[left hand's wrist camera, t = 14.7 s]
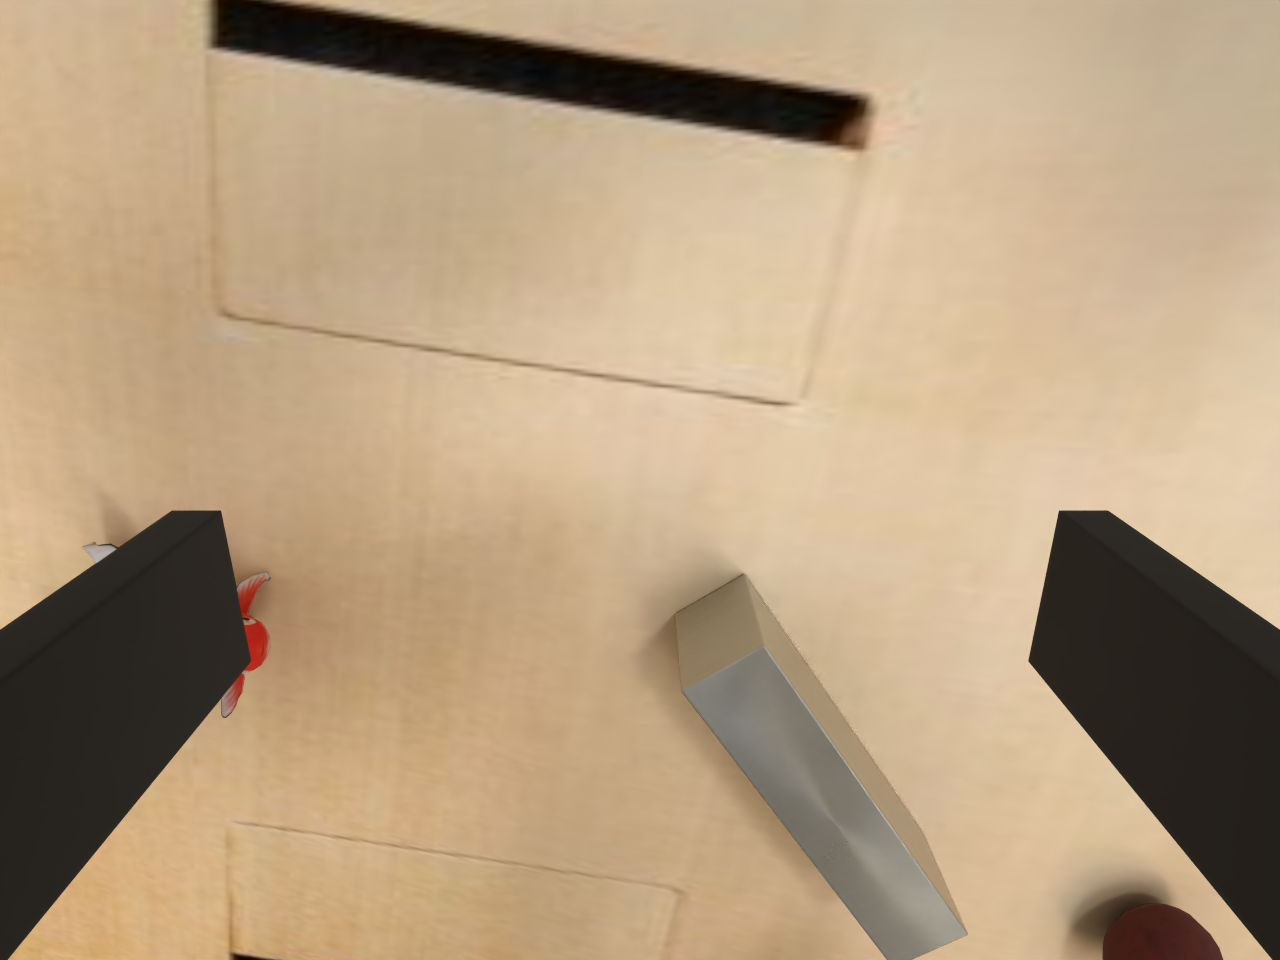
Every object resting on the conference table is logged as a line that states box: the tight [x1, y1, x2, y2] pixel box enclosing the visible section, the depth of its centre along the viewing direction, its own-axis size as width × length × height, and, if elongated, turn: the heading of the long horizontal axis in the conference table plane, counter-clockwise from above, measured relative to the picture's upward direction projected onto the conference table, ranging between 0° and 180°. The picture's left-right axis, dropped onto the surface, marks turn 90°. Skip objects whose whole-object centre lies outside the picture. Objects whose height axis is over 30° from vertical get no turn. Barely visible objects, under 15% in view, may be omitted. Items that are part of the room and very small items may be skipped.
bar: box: [675, 574, 967, 960], centre depth 48 cm, size 24×5×8 cm, turn 33°
